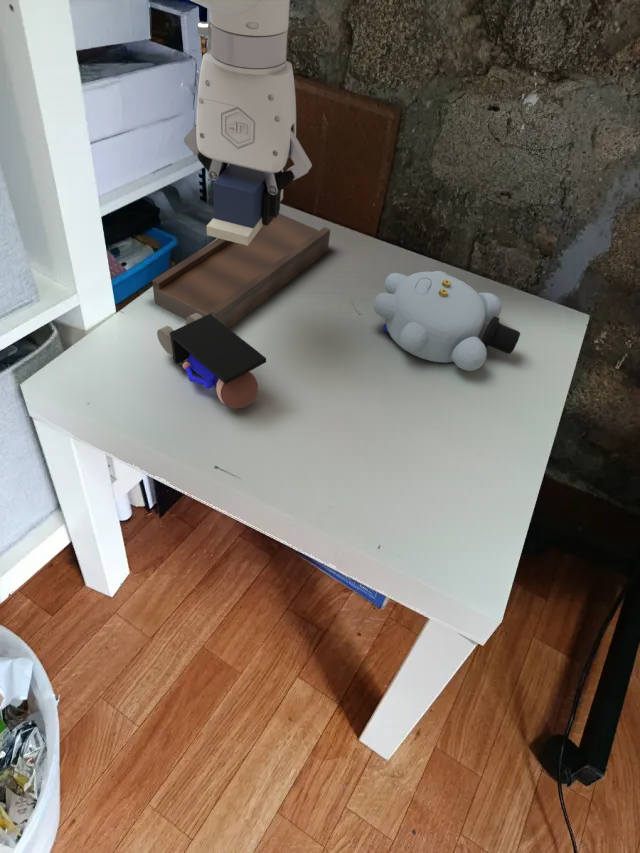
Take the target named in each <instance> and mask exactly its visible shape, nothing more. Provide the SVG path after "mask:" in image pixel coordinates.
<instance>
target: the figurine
mask: <svg viewBox="0 0 640 853" xmlns="http://www.w3.org/2000/svg"><path fill="white" fill-rule="evenodd" d="M383 285H384V286H383V287H384V289H385V292H382V293H378V294H377V295H376V296H375V298H374V301H373V305H372V309H373V311H374V313H375V314H377V315H379V316H380V317H381V318H384V319H385V323H384V325H383V327H382V330H383V331H384V332H386V333H388V334H389V336H390V337H391V339H392V340H393V341H394V342H395V343H396V344H397V345H398V346H399V347H400V348H402V349H403V350H404V351H406V352H407V353H410V354H411V355H413V356H415V357H418V358H420V359H422V360H427V361H430V362H434V363H445V364H447V363H454V364H455V365H456V366H457V367H458V368H460V369H461V370H464V371H467V372H471V371H475V370H479V369H480V368H481V367H482V366H483V365H484V363H485V362H486V359H487V356H488V354H487V353H488V352H487V348H488V347H489V348H492V349H495V350H497V351H500V352H503V353H505V354H507V355H511V354H512V353H513V351H514V349H515V348H516V346H517V344H518V342H519V339H520V336H521V332H520V331H519V330H517V329H514V328H512V327H509V326H507V325H504V324H502V323H500V315H501V313H502V309H503V308H502V307H503V306H502V302H501V300H500V298H498V296H497V295H495V294H493V293H490V292H477V291H476V290H475V289H474V288H473V287H471V286H470V285H469V284H467V283H466V282H464V281H462V280H461V279H458V278H456V277H454V276H451V275H449V274H448V273H446V272H444V271H441V270H434V271H419V272H416V273H413V274H411V275H406V274H403V273H399V272H391V273H390V274H388V276H387V277H386V279H385V282H384V284H383ZM486 324H487V326H486V328H485V330H484V332H483V329H484V326H485V325H486ZM482 332H483V335H482V338H481V339H480V338H479V337H480V335H481V333H482Z"/></svg>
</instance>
